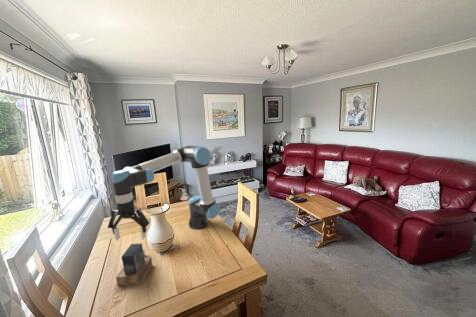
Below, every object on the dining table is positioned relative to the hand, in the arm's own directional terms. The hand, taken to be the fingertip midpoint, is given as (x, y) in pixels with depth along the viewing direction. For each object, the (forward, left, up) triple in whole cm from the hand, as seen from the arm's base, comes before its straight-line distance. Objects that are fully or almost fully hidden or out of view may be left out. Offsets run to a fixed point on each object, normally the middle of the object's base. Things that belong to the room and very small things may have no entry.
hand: (131, 238), depth 104 cm
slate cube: (+4, -13, -22) cm, 26 cm away
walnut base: (0, 0, -22) cm, 22 cm away
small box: (0, 0, -17) cm, 17 cm away
